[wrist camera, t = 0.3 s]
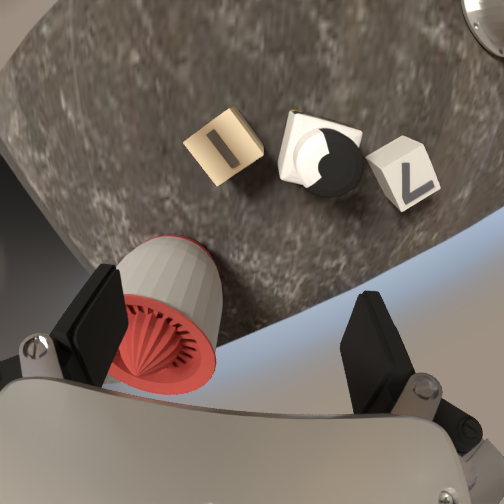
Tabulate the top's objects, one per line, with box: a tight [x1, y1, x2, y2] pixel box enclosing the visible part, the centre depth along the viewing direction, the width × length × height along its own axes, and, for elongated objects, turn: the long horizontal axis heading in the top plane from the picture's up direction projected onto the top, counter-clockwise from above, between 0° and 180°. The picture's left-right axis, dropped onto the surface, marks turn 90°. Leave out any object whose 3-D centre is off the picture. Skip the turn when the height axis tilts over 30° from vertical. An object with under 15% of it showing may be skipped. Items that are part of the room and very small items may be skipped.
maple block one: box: [183, 106, 264, 186], centre depth 33 cm, size 6×6×6 cm
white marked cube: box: [365, 135, 440, 212], centre depth 34 cm, size 6×6×6 cm
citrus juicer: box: [108, 234, 223, 395], centre depth 36 cm, size 16×17×20 cm
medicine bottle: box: [278, 110, 363, 198], centre depth 30 cm, size 7×7×12 cm
